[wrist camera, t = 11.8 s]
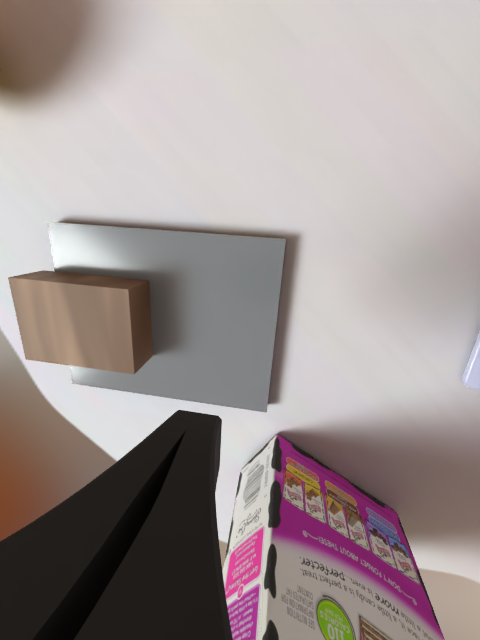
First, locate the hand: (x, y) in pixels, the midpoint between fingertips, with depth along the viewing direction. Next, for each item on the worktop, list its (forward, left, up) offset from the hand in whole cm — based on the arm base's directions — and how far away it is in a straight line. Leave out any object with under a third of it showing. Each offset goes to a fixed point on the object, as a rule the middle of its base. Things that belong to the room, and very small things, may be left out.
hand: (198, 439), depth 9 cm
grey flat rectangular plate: (+5, 0, -10) cm, 11 cm away
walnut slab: (+6, 0, -8) cm, 10 cm away
